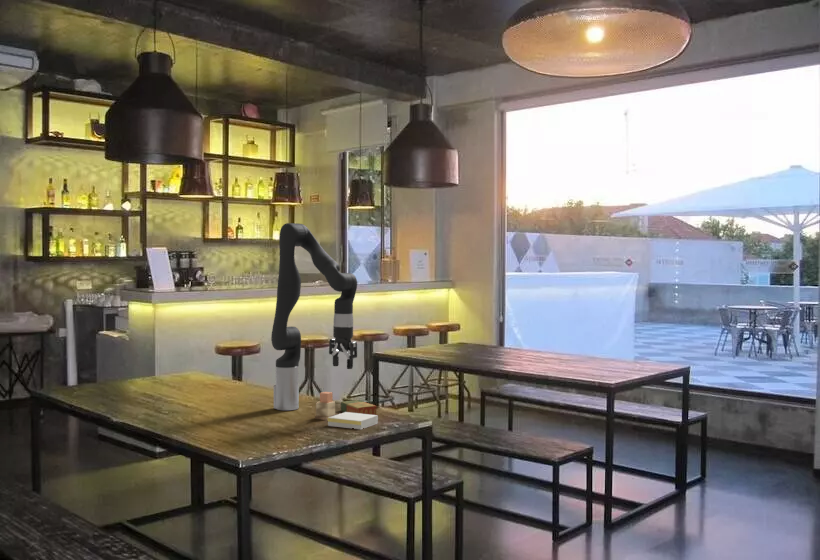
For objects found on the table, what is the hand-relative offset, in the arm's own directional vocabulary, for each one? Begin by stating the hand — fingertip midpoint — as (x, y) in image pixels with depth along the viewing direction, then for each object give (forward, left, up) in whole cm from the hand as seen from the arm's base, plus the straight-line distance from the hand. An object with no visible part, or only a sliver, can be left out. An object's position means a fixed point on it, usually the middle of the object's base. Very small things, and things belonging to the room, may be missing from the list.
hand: (342, 367), depth 295 cm
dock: (+10, -9, -19) cm, 24 cm away
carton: (0, +11, -20) cm, 23 cm away
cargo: (-5, -3, -13) cm, 15 cm away
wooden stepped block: (-6, -3, -19) cm, 20 cm away
